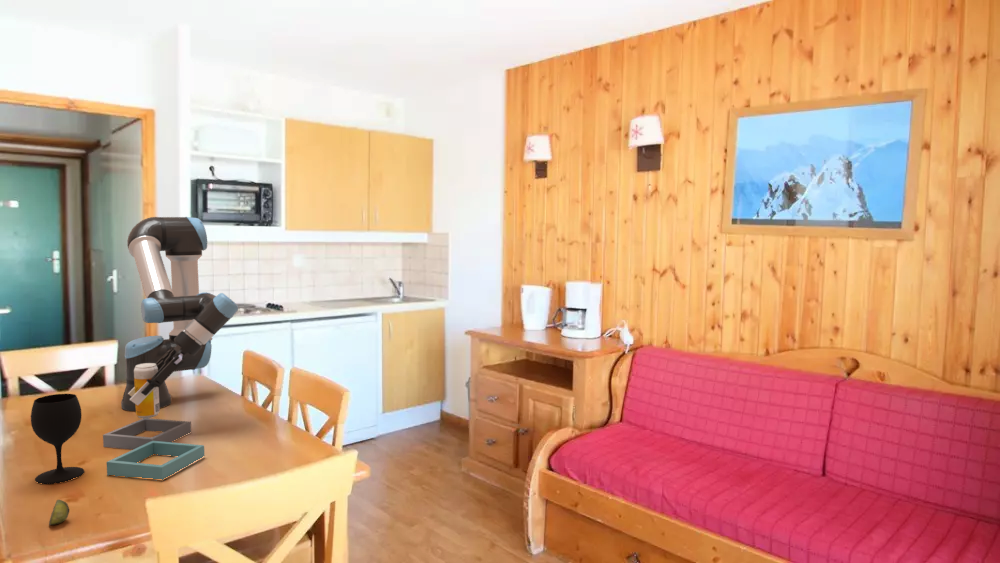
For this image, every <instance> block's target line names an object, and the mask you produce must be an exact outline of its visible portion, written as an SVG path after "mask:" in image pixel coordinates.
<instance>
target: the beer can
mask: <svg viewBox="0 0 1000 563" xmlns="http://www.w3.org/2000/svg"><path fill="white" fill-rule="evenodd" d="M157 372H158V367H157V366H156V364H155V363H144V364H138V365H136V366H135V369H134V384H135V393H136V392H137V391H138V390H139V389H140V388H141V387H142V386H143V385H144V384H145V383H146V382H147V381H146V380H147V379H149V380H151V379H152V377H153V376H154V375H155V374H156V373H157ZM135 406H136V411H135V415H136V417H138V419H143V418H151V419H153V418H156V417H157V416H159V414H160V411H161V410H160V408H159V387H156V388H155V389H154V390H153V391H152V392H151V393H150V394H149V395H148V396H147V397H146V398H145V399H144V400H143V401H142V402H141V403H140V404H139V405H136V404H135Z"/></svg>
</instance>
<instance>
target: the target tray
mask: <svg viewBox="0 0 1000 563" xmlns="http://www.w3.org/2000/svg"><path fill="white" fill-rule="evenodd" d="M153 454H156V455H155V456H160V455H171V456H178V457H173V459H170V460H168V461H167V462H164V463H162V464H154V463H153V464H152V463H144V462H143V463H142V461H144V460H143V459H145V458H147V457H149V456H151V455H153ZM157 454H158V455H157ZM153 456H154V455H153ZM203 456H205V445H204V444H193V443H183V442H182V443H181V442H161V441H151V442H149V443H147V444H144V445H142V446H140V447H138V448H136V449H134V450H131V449H130V451H127V452H125V453H123V454H121V455H119V456H116V457H115V458H112V459H110V460H108V461H106V475H107V476H109V475H115V476H114V477H118V476H125V477H124V478H128V477H142V478H153V479H162V480H163V479H164V478H166V477H168V476H170V475H172V474H174V473H175V472H177V471H179V470H180V469H182V468H184V467H186V466H188V465H189V464H191V463H193V462H194V461H196V460H198V459H200V458H202V457H203ZM151 457H152V456H151ZM149 458H150V457H149ZM147 459H148V458H147ZM141 460H142V461H141ZM145 460H146V459H145ZM139 461H140V462H139ZM137 462H138V463H137Z"/></svg>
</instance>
